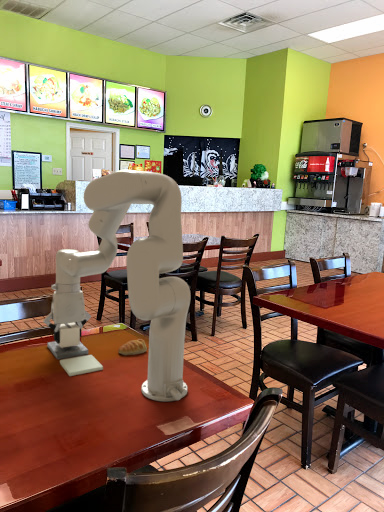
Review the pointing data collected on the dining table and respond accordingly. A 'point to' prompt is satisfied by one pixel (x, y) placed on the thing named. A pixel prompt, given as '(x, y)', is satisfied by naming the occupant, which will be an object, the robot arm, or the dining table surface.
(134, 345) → the pastry
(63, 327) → the white slotted cube
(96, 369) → the coaster
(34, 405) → the dining table surface
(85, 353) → the post stand
